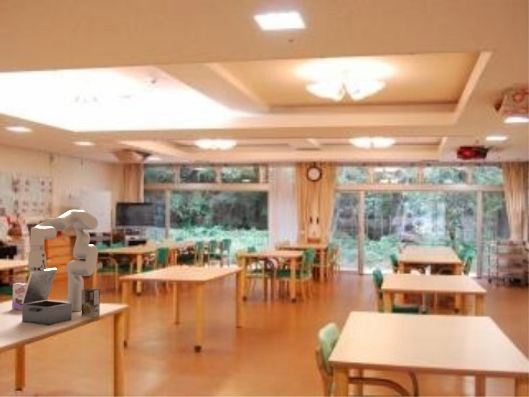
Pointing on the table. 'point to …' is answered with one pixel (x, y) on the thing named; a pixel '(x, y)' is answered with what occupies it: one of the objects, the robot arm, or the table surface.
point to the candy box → (18, 295)
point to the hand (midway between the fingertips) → (36, 279)
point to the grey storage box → (46, 312)
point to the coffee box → (91, 302)
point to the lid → (39, 285)
